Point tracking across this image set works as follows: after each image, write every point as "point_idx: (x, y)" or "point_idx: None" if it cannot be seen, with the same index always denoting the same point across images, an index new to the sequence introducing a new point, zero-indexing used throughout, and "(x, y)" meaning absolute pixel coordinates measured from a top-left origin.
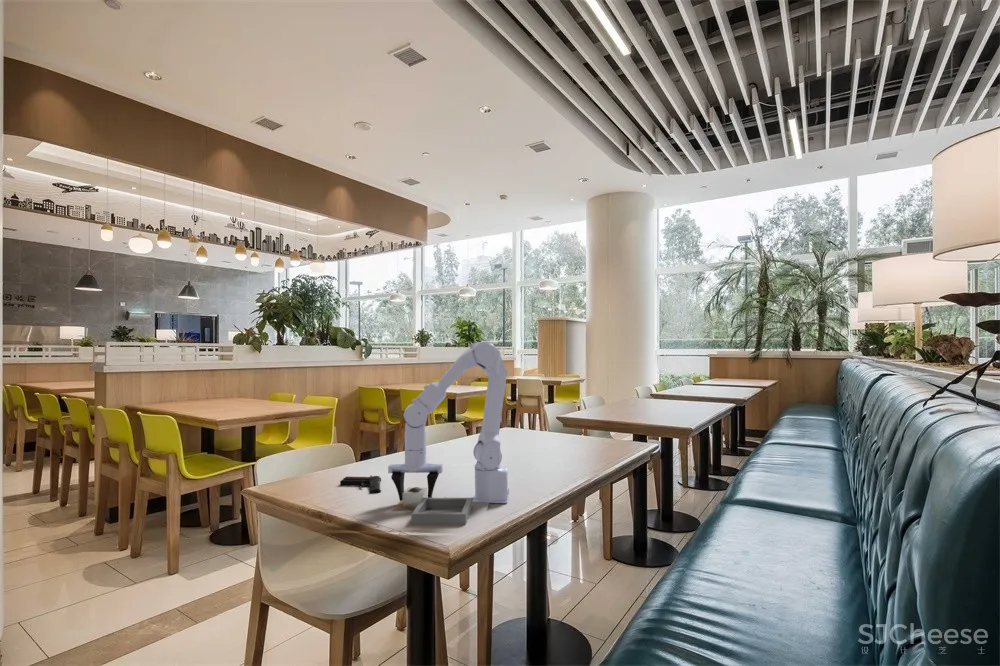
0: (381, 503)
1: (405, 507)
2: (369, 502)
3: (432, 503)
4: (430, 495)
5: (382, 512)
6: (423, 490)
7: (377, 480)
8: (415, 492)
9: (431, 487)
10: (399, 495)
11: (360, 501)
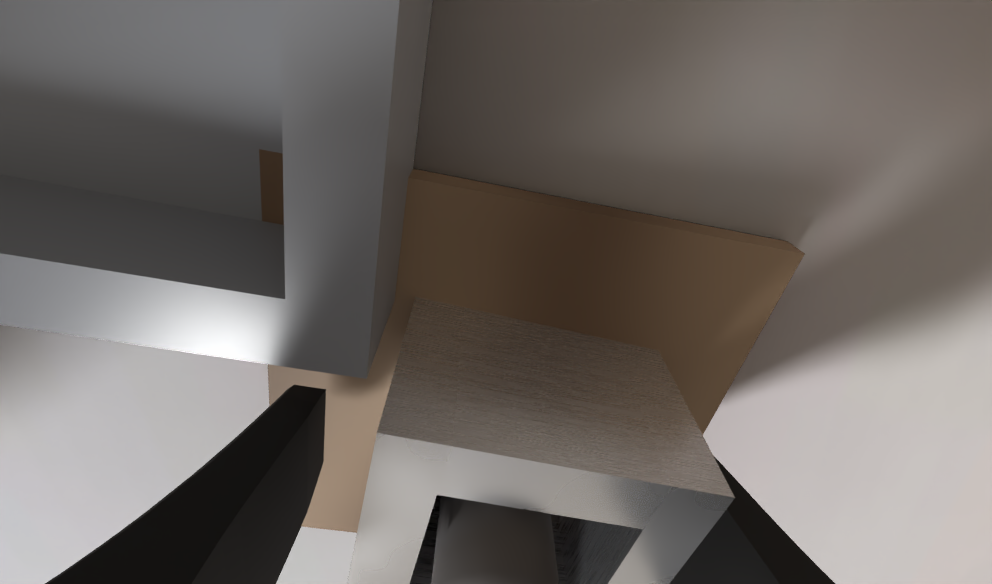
0: (826, 509)
1: (626, 316)
2: (920, 542)
3: (215, 249)
4: (246, 428)
5: (907, 260)
6: (366, 553)
7: None
8: (499, 488)
9: (121, 547)
10: (742, 495)
11: (982, 569)
